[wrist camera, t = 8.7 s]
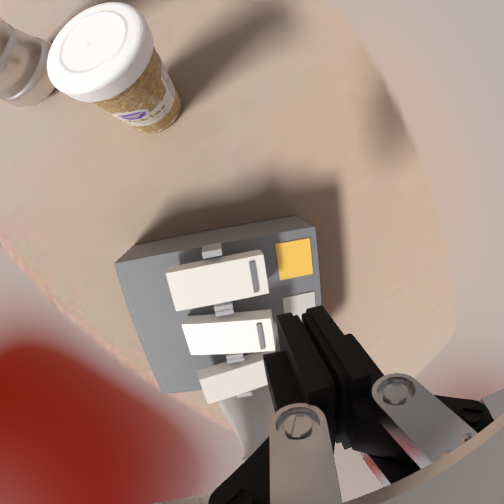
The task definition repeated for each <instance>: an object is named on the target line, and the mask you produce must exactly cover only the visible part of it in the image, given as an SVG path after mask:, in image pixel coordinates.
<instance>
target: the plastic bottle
mask: <svg viewBox="0 0 504 504" xmlns="http://www.w3.org/2000/svg"><path fill="white" fill-rule="evenodd" d="M51 45H52V43H51V42H49V41H46V40H44V39H41V38H36V37H33V36H30V35H28V34H26V33H24V32H22V31H19V30H17V29H15V28H13V27H12V26H11V25H9V24H7V23H6V22H5V21H4V20H2V19H1V18H0V98H1V99H2V100H4V101H6V102H8V103H10V104H12V105H14V106H19V107H24V106H33V105H36V104H38V103H40V102H41V101H43V100H44V99H45V98H46V97H48V96H49V95H50V94H51V93H52V92H53V90H54V89H55V88H56V87H55V86H54V85H53V84H52V82H51V81H50V79H49V76H48V71H47V59H48V54H49V51H50V48H51Z"/></svg>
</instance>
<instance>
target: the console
mask: <svg viewBox="0 0 504 504" xmlns="http://www.w3.org/2000/svg"><path fill="white" fill-rule="evenodd" d="M259 249H260V250H261V252H262V253H263V255H264V262H265V269H266V275H267V282H268V289H269V293H268V294H263V295H259V296H254V297H249V298H244V299H239V300H234V301H229V302H224V303H219V304H214V305H209V306H204V307H198V308H193V309H187V310H182V311H176V310H175V306H174V303H173V299H172V296H171V292H170V288H169V285H168V281H167V277H166V271H167V268H168V267H171V266H177V265H182V264H187V263H192V262H197V261H202V260H207V259H212V258H217V257H223V256H228V255H233V254H238V253H243V252H248V251H253V250H259ZM114 265H115V268H116V272H117V275H118V278H119V282H120V285H121V288H122V291H123V294H124V297H125V300H126V303H127V306H128V309H129V312H130V315H131V318H132V321H133V323H134V326H135V329H136V332H137V334H138V337H139V339H140V342H141V344H142V347H143V349H144V352H145V354H146V357H147V359H148V362H149V364H150V366H151V369H152V371H153V373H154V376H155V378H156V380H157V382H158V384H159V387H160V389H161V391H162V393H163V394H167V393H178V392H188V391H196V390H203V389H202V387H201V384H200V381H199V378H198V375H197V372H196V370H200V369H203V368H207V367H210V366H214V365H217V364H220V363H224V362H228V364H229V363H235V362H241V361H244V356H246V355H249V354H252V353H255V352H252V353H235V354H211V355H191V353H190V350H189V347H188V344H187V341H186V337H185V334H184V331H183V328H182V323H183V321H184V319H185V318H186V316H194V315H209V314H215V315H216V317H217V316H223V315H229V314H234V313H235V312H247V311H258V310H268V309H271V311H272V318H273V325H274V332H275V339H276V348H275V352H279V351H280V346H279V338H278V331H277V323H276V315H280V314H285V313H289V312H291V313H292V314H293V316H294V315H298V316H299V318H300V319H301V321H302V314H303V313H306V309H307V308H312V307H316V306H320V305H321V289H320V275H319V262H318V250H317V239H316V229H315V226H313V225H312V224H310V223H308V222H306V221H305V220H303V219H301V218H299V217H298V216H290V217H284V218H278V219H272V220H266V221H260V222H254V223H248V224H243V225H237V226H232V227H226V228H221V229H215V230H210V231H204V232H199V233H194V234H189V235H183V236H178V237H173V238H168V239H163V240H158V241H153V242H148V243H143V244H138V245H134V246H132V247H131V248H130V249H129V250H128V251H127V252H126V253H125V254H124V255H123V256H122V257H121V258H120V259H118V260H117V261H116V262H115V263H114ZM246 396H252V391H248V392H245V393H242V394H239V395H237V398H240V397H246Z"/></svg>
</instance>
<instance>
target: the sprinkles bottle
mask: <svg viewBox="0 0 504 504" xmlns="http://www.w3.org/2000/svg"><path fill="white" fill-rule="evenodd" d="M47 71H48V76H49V79H50V81H51V82H52V84H53V85H54V86H55V87H56V88H57V89H58V90H60V91H61V92H63V93H65V94H67V95H69V96H70V97H72V98H75V99H77V100H79V101H84V102H92V103H94V104H95V105H97V106H99V107H101V108H103V109H105V110H107V111H108V112H110V113H111V114H112V115H114V116H115V117H117V118H119V119H121V120H123V121H124V122H126V123H128V124H130V125H133V127H134V128H136V129H137V130H139V131H141V132H146V133H158V132H160V131H162V130H165V129H166V128H168V127H169V126H170V125H171V124H172V123H174V121H175V120H176V118H177V117H178V115H179V112H180V108H181V99H180V97H179V94H178V92H177V90H176V89H175V88H174V85H173V83H172V81H171V79H170V77H169V75H168V73H167V71H166V69H165V67H164V65H163V63H162V60H161V58H160V57H159V55H158V53H157V52H156V50H155V48H154V47H153V36H152V33H151V31H150V29H149V27H148V24H147V22H146V21H145V19H144V17H143V15H142V14H141V13H140V12H139V11H138V10H137V9H136V8H135V7H133V6H131V5H129V4H126V3H122V2H107V3H102V4H98V5H95V6H92V7H90V8H88V9H86V10H84V11H82V12H81V13H79V14H78V15H76V16H75V17H74V18H72V19H71V20H70V21H69V22H68V23H67V24H66V25H65V26H64V27H63V28H62V29H61V31H60V32H59V33H58V35H57V36H56V38H55V40H54V41H53V43H52V45H51V48H50V51H49V54H48V59H47Z"/></svg>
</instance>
